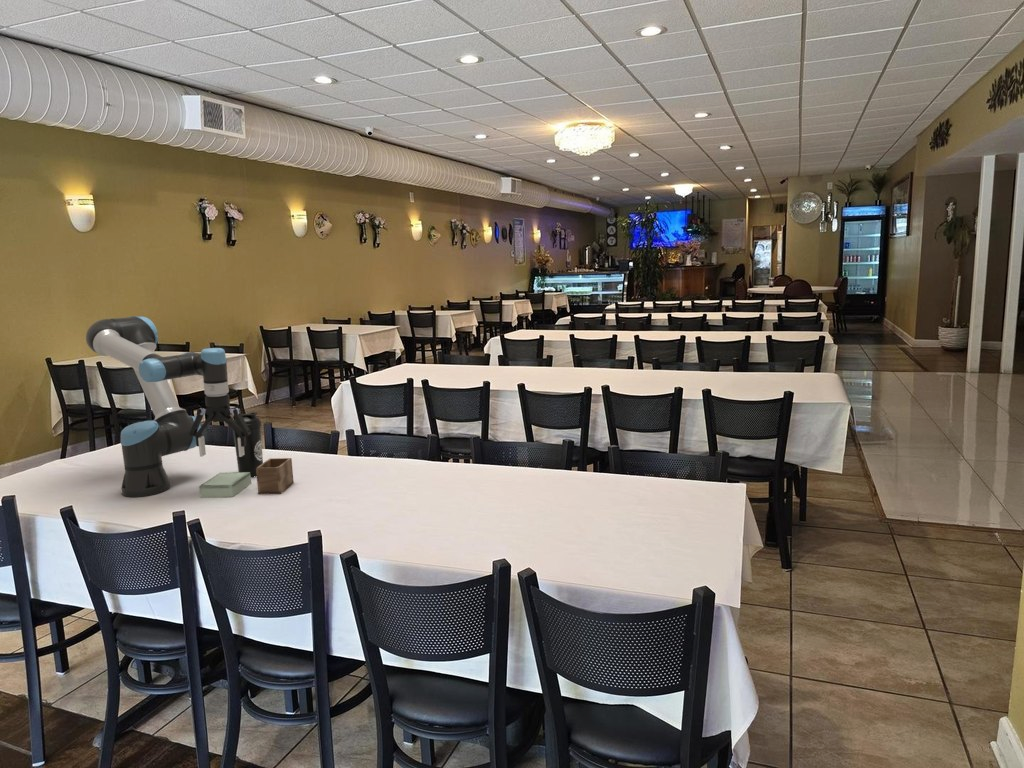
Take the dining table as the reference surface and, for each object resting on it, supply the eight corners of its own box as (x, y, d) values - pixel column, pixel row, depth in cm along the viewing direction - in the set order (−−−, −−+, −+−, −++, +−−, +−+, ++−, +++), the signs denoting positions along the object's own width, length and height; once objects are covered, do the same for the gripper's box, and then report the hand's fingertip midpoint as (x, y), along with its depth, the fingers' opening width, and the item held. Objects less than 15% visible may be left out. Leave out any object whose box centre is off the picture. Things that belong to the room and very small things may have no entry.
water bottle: (260, 478, 257) (254, 416, 253) (232, 479, 257) (225, 416, 253) (270, 470, 267) (264, 410, 263) (243, 470, 267) (237, 410, 263)
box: (281, 493, 238) (278, 467, 237) (258, 494, 239) (255, 468, 237) (293, 482, 250) (291, 458, 248) (271, 483, 250) (269, 458, 249)
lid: (232, 496, 237) (231, 485, 236) (200, 497, 237) (199, 485, 237) (251, 483, 251) (250, 472, 251) (221, 483, 252) (219, 472, 251)
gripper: (174, 396, 236) (181, 458, 240) (248, 396, 234) (253, 458, 238) (186, 392, 243) (192, 452, 247) (257, 392, 242) (262, 452, 246)
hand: (222, 455), depth 243 cm, fingers open, 13 cm apart
